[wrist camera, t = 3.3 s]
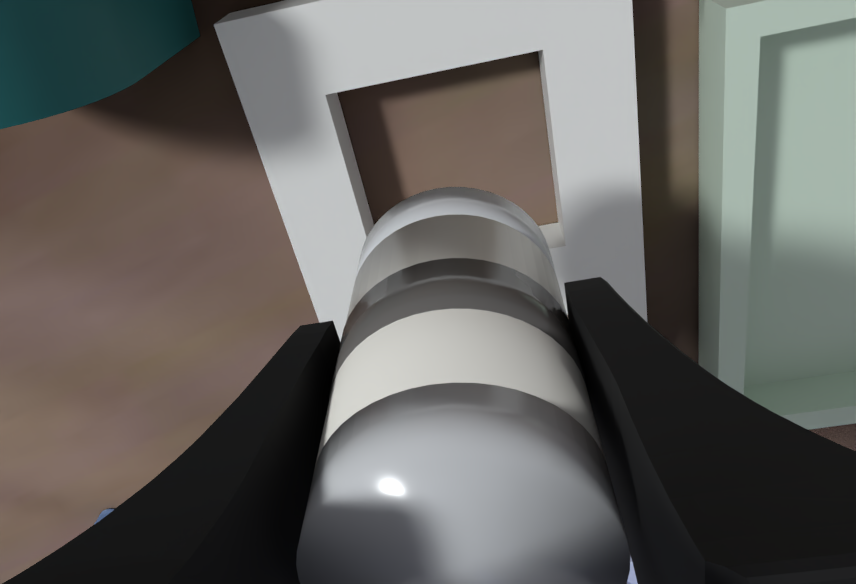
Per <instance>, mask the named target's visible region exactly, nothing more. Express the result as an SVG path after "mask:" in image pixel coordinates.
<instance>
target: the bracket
mask: <svg viewBox="0 0 856 584" xmlns="http://www.w3.org/2000/svg"><path fill="white" fill-rule="evenodd" d="M198 37H200V33H199V29H198V25H197V21H196V17H195V13H194V9H193V5H192V1H191V0H0V129H3V128H7V127H11V126H15V125H20V124H24V123H28V122H31V121H35V120H39V119H43V118H46V117H50V116H53V115H57V114H60V113H63V112H67V111H70V110H73V109H76V108H79V107H82V106H85V105H87V104H90V103H93V102H96V101H98V100H101V99H103V98H106V97H108V96H111V95H113V94H115V93H117V92H119V91H122V90H124V89H126V88H127V87H129V86H131V85H133V84H134V83H136V82H137V81H139V80H140V79H142V78H143V77H145V76H146V75H147V74H149V73H150V72H151V71H153V70H154V69H156V68H157V67H158V66H160V65H161V64H163V63H164V62H165V61H167V60H168V59H169V58H171V57H172V56H174V55H175V54H176V53H178V52H179V51H180V50H182V49H183V48H185V47H186V46H187V45H189V44H190V43H191V42H193V41H194V40H196V39H197V38H198Z"/></svg>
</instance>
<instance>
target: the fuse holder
mask: <svg viewBox="0 0 856 584" xmlns="http://www.w3.org/2000/svg"><path fill="white" fill-rule="evenodd" d="M214 28H215V30H216V33H217V36H218V39H219V42H220V44H221V47H222V50H223V53H224V56H225V58H226V61H227V64H228V67H229V70H230V73H231V75H232V78H233V81H234V84H235V87H236V89H237V92H238V95H239V98H240V101H241V103H242V106H243V109H244V112H245V115H246V117H247V120H248V123H249V126H250V129H251V131H252V134H253V137H254V140H255V143H256V145H257V148H258V151H259V154H260V157H261V160H262V162H263V165H264V168H265V171H266V174H267V176H268V179H269V182H270V185H271V188H272V190H273V193H274V196H275V199H276V202H277V204H278V207H279V210H280V213H281V216H282V218H283V221H284V224H285V227H286V230H287V232H288V235H289V238H290V241H291V244H292V247H293V249H294V252H295V255H296V258H297V261H298V263H299V266H300V269H301V272H302V275H303V277H304V280H305V283H306V286H307V289H308V291H309V294H310V297H311V300H312V303H313V305H314V308H315V311H316V314H317V317H318V319H319V322H320V323H321V322H327V321H333V322H334V325H335V328H336V331H337V334H338V337H339V340H340V342H341V338H342V334H343V329H344V327H345V324H346V320H347V315H348V311H349V306H350V301H351V297H352V292H353V287H354V282H355V278H356V273H357V268H358V264H359V259H360V255H361V251H362V247H363V245H364V242H365V240H366V238H367V236H368V234H369V233H370V231H371V229H372V228H373V226H374V223H373V219H372V216H371V212H370V209H369V205H368V202H367V198H366V194H365V191H364V187H363V184H362V180H361V176H360V173H359V169H358V166H357V162H356V159H355V155H354V151H353V148H352V144H351V141H350V137H349V134H348V130H347V126H346V123H345V119H344V116H343V112H342V108H341V105H340V101H339V98H338V94H337V92H342V91H346V90H351V89H356V88H361V87H366V86H371V85H375V84H380V83H385V82H390V81H395V80H400V79H404V78H409V77H414V76H419V75H424V74H429V73H433V72H438V71H443V70H448V69H453V68H458V67H462V66H467V65H472V64H477V63H482V62H487V61H491V60H496V59H501V58H506V57H511V56H516V55H520V54H525V53H530V52H535V51H538V56H539V64H540V73H541V81H542V89H543V98H544V106H545V114H546V123H547V131H548V139H549V148H550V156H551V165H552V173H553V181H554V190H555V198H556V206H557V215H558V223H553V224H547V225H542V226H538V227H539V228H540V230H541V232H542V233H543V235H544V237H545V239H546V242H547V244H548V247H549V250H550V253H551V257H552V261H553V265H554V268H555V272H556V276H557V280H558V283H559V287H560V291H561V295H562V298H563V302H564V306H565V310H566V313H567V314H568V311H567V303H566V294H565V286H564V283H566V282H572V281H578V280H584V279H590V278H596V277H601V278H603V279H604V280H605V281H607V282H608V283H609V284H610V285H611V287H612V288H613V289H614V290H615V291H616V292H617V293H618V294H619V295H620V296H621V297H622V298H623V299H624V300H625V301H626V302H627V303H628V304H629V305H630V306H631V307H632V308H633V309H634V310H635V311H636V312H637V313H638V314H639V315H640V316H641V317H642V318H643V319H644V320H645V321H646V322H647V304H646V283H645V261H644V240H643V219H642V198H641V176H640V155H639V134H638V113H637V91H636V70H635V49H634V28H633V6H632V0H284V1H280V2H276V3H271V4H267V5H262V6H258V7H254V8H249V9H245V10H240V11H236V12H232V13H229V14H228V15H226V16H225V17H223V18H222V19H221V20H219V21H218V22H216V23H215V24H214Z"/></svg>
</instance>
